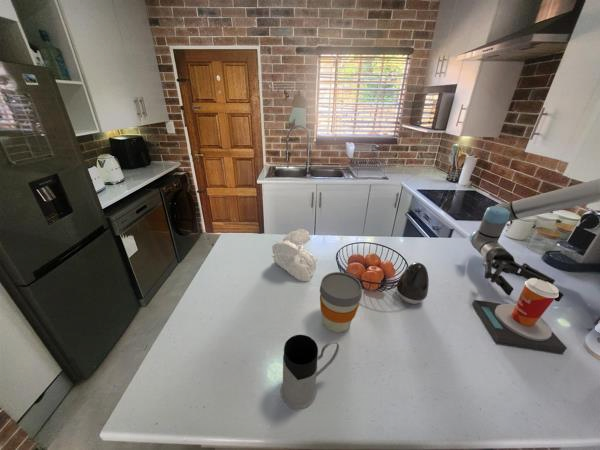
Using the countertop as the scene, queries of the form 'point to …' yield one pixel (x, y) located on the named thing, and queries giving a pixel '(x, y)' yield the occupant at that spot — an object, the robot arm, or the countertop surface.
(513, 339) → the scale
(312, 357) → the glass holder
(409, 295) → the dark egg shaped ornament
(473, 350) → the countertop surface
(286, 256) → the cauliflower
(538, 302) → the paper cup
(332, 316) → the reusable coffee cup
